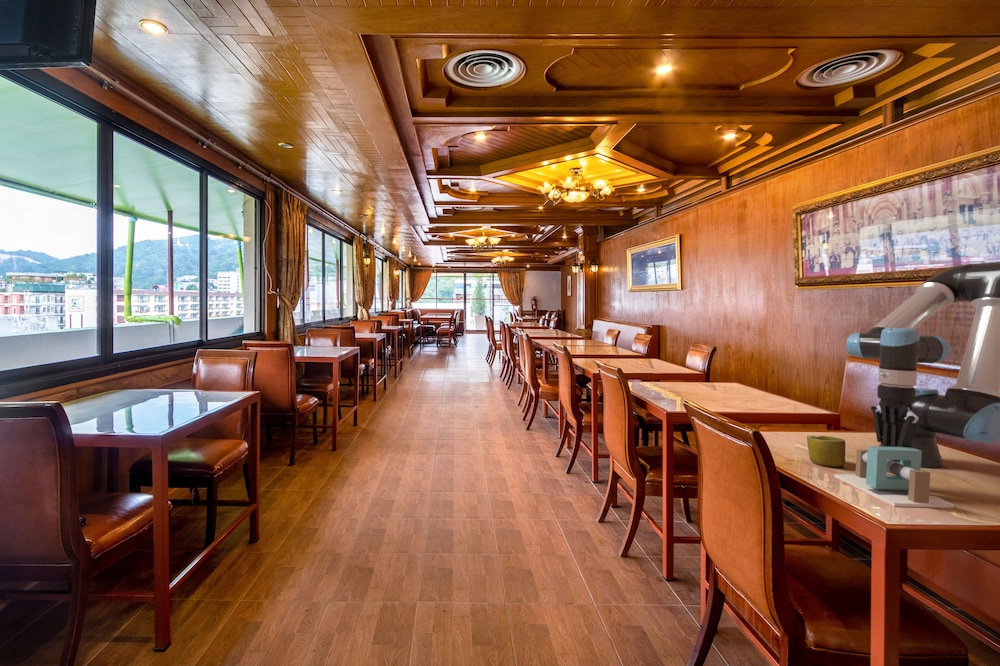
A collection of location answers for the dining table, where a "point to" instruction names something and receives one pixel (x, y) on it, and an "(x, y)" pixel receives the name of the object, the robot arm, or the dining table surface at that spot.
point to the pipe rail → (896, 497)
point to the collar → (879, 466)
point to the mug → (826, 450)
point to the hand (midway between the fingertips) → (891, 471)
